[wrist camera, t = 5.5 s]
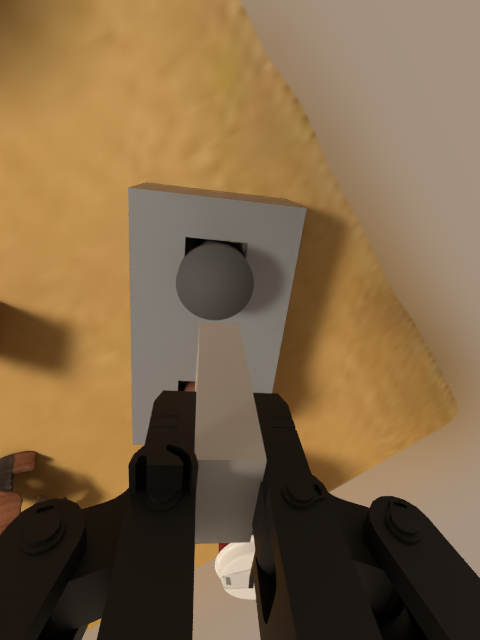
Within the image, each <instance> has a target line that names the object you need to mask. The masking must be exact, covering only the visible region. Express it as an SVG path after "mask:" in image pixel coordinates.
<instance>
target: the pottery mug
mask: <svg viewBox="0 0 480 640" xmlns="http://www.w3.org/2000/svg"><path fill="white" fill-rule="evenodd" d="M35 459H36V452H22V453H18V454H14V455H10V456H5V457H3V458H1V459H0V535H1V534H2V532H3V531H4V530H5V529H6V527H7V526H8V525H9V524H10V523H11V522H12V521H13V520H14V519H15V518H16V517H17V516H18V515H19V514H20V513H21V504H22V498H21V495H20V493H18V492H16V491H13V477H14V475H15V474H18V473H22V472H27V471H33V470H34V469H35ZM63 499H67V497H64V498H63ZM46 500H49V498H48V497H46V496H43V495H39V496H38V497H37V500H36V503H39V502H42V501H46ZM34 505H35V504H34Z"/></svg>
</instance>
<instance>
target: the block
mask: <svg viewBox="0 0 480 640" xmlns="http://www.w3.org/2000/svg"><path fill="white" fill-rule="evenodd" d="M128 192H129V250H130V308H131V367H132V425H133V444H136V445H145V441H146V436H147V431H148V428H149V422H150V417H151V413H152V408H153V403H154V401H155V399H156V398H157V397H158V396H159V395H160V394H161V393H162V391H163V390H168V391H183V387H184V381H195V379H196V366H197V353H198V339H199V326H200V322H210V323H225V324H239V328H240V332H241V337H242V342H243V347H244V352H245V357H246V362H247V366H248V371H249V376H250V381H251V386H252V391H253V393H272V391H273V385H274V380H275V375H276V369H277V364H278V359H279V353H280V348H281V343H282V338H283V332H284V327H285V322H286V316H287V311H288V306H289V300H290V295H291V290H292V284H293V279H294V274H295V269H296V263H297V258H298V253H299V247H300V242H301V237H302V231H303V226H304V221H305V216H306V210H307V208H305V207H303V206H300V205H298V204H296V203H294V202H291V201H289V200H287V199H281V198H272V197H264V196H256V195H247V194H239V193H230V192H222V191H213V190H205V189H197V188H188V187H180V186H171V185H163V184H154V183H143V184H139V185H136V186H132V187H129V188H128ZM198 238H201V239H211V240H221V241H230V242H231V244H232V246H233V248H235V249H237V250H238V251H239V252H240V253H241V254H242V255H243V256H244V257H245V258H246V260H247V261H248V263H249V265H250V268H251V270H252V273H253V278H254V289H253V293H252V296H251V298H250V300H249V302H248V304H247V305H246V306H245V307H244V308H243V309H242V310H241V311H240V312H239V313H237V314H236V315H234V316H232V317H230V318H227V319H223V320H207V319H203V318H200V317H198V316H196V315H194V314H192V313H191V312H190V311H188V310H187V309H186V308H185V306H184V305H183V304H182V302H181V301H180V299H179V297H178V294H177V290H176V276H177V272H178V269H179V266H180V263H181V262H182V260H183V258H184V257H185V256H186V255H187V254H188V253H189V252H190V251H191V250H192V249H193V246H194V243H195V242H196V240H197V239H198Z"/></svg>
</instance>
